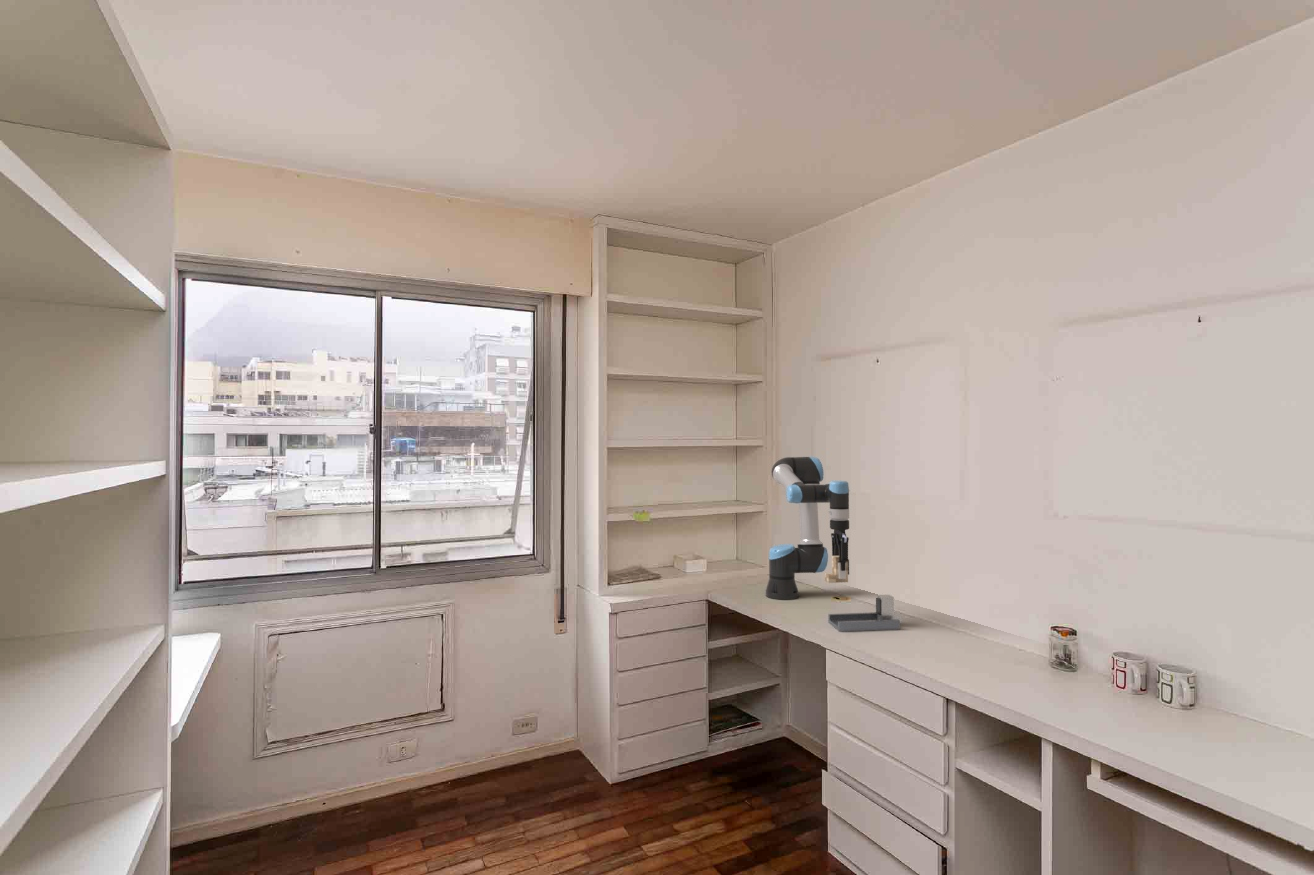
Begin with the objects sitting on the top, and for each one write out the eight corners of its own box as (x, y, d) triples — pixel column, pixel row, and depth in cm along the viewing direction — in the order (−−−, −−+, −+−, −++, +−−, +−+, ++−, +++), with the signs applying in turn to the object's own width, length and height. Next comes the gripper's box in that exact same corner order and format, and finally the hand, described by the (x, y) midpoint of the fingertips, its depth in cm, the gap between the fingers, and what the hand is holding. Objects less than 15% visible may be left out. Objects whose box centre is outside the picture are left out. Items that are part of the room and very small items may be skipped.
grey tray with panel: (828, 622, 267) (828, 594, 267) (892, 620, 270) (892, 591, 270) (839, 631, 255) (839, 601, 255) (906, 629, 258) (905, 599, 258)
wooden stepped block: (825, 580, 271) (824, 556, 271) (845, 580, 272) (845, 555, 272) (828, 582, 267) (828, 557, 267) (849, 582, 268) (849, 557, 268)
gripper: (823, 517, 278) (824, 573, 278) (837, 521, 261) (838, 582, 261) (841, 516, 279) (841, 573, 278) (856, 521, 262) (857, 581, 261)
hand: (840, 577), depth 270 cm, fingers closed on wooden stepped block, 4 cm apart
